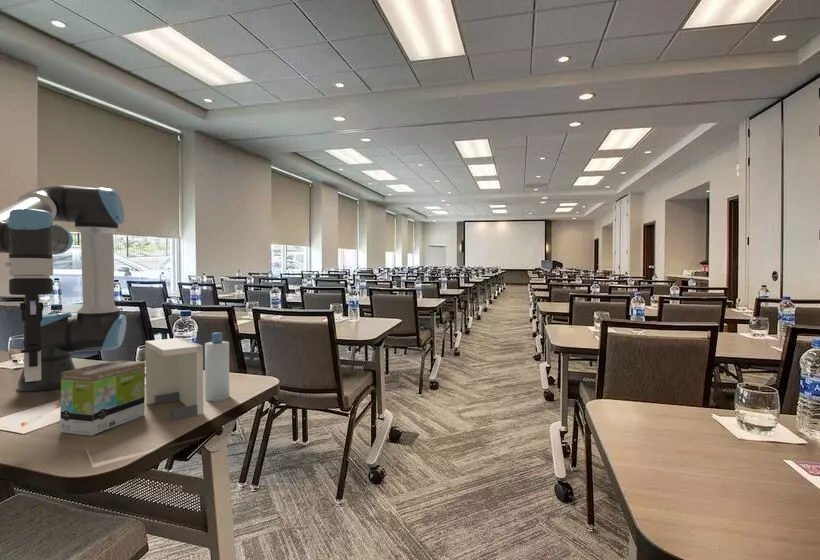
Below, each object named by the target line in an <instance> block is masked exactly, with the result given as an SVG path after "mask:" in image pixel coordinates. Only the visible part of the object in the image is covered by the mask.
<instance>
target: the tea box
mask: <svg viewBox="0 0 820 560" xmlns="http://www.w3.org/2000/svg"><path fill="white" fill-rule="evenodd" d="M145 402H146V361H145V362H143V361H131V360H112V361H105V362H103V363H99V364H98V363H97V364H92V365H88V366H84V367H80V368H76V369H74V370H69V371H64V372H62V373H61V388H60V420H59V421H60V422H59V423H60V425H59V432H60V433H63V434H70V435H81V436H91V437H93V436H96V435H97V434H99V433H102V432H105V431H106V430H109V429H112V428H114V427H117V426H121V425H122V424H126V423H128V422H131V421H133V420H136V419H138V418H141V417H143V416H145V407H146V406H145V404H146V403H145Z"/></svg>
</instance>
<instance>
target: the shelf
mask: <svg viewBox="0 0 820 560" xmlns="http://www.w3.org/2000/svg"><path fill="white" fill-rule="evenodd" d="M203 368H204V345H203V344H202V345H201V344H199V343H196V342H194V341H192V340H189V339H186V338H184V337H176V338H175V337H173V338H164V339H153V340H145V404H146V405H152V404H155V396H158V395H163V394H169V393H175V392H178V393H179V400H178V401H180V403H183V404H184V405H185V407H186V406H191V405H197V415H196V416H199V414H200V415H203V414H204V369H203ZM202 413H203V414H202Z"/></svg>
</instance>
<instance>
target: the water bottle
mask: <svg viewBox="0 0 820 560" xmlns="http://www.w3.org/2000/svg"><path fill="white" fill-rule="evenodd" d="M204 378H205V379H204V394H205V395H204V396H205V397H204V398H205V399H206V400H208V401H207V402H211V401H215V402H221V401H220V400H222V401H225V399H226V400H228V399H229V398H230V342H229V341H226V340H225V341H224V340H223V332H219V331H218V332H212V333H211V341H210V342H205V343H204ZM227 398H228V399H227ZM206 400H205V401H206Z"/></svg>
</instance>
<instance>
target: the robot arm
mask: <svg viewBox="0 0 820 560" xmlns="http://www.w3.org/2000/svg"><path fill="white" fill-rule="evenodd" d="M120 196H121V195H120V194H119V193H118V192H117V191H116V190H115V189H113V188H107V187H101V186H99V187H98V186H96V187H95V186H93V187H92V186H80V185H79V186H77V185H76V186H75V185H61V184H60V185H59V184H58V185H57V184H56V185H50V186H45V187H41V188H37V189H34V190H30V191H27V192H25V193H24V194H22V195H20V196H19V197H18V198H17V200H16V202H13V203H11V204H10V205H7V206H5V207H2V208H1V209H0V254H9V255H8V261H6V262H5V263H4V264H5V265H4V266H5V267H6V268H7V267H8V268H9V267H10V268H9V269H8V270H9V271H8V273H9V276H10V277H12V278H9V280H8V293H9V295H11V296H24V302H20V303H19V310H20V312H21V322H22V323H23V340H22V341H23V342H22V343H23V347H24V348H23V349H21V350H20V352H21V354H23V368H22V370H21V374H20V376H19V378H18V381H17V391H19V392H44V391H51V390H58V389H61V373H62V372H64V371H69V370H74V369H77V368H76V366H75V364H74V361H73V355H72V354H73V352H74V353H75V352H77V353H78V352H91V351H92V352H93V351H108V350H115V349H118V348H120V346H121V345H122V344H123V341H124V339H125V336H126V330H127V316H126V315H124V314H122V313H121V308H119V307H118V306H117V305H116V304H115V277H114V276H115V275H114V273H115V270H114V265H115V264H114V234H115V233H116V232H117V231H118V230H119V225H122V224H124V222H125V211H124V205H123V202H122V198H121V197H120ZM54 222H62V223H63V222H64V223H66V222H67V223H74V228H75V229H76V230H77V231H78V232H79V233H80V243H81V244H80V249H81V252H80V253H81V286H82V287H81V289H82V290H81V291H82V306H81V307H80V308H79V309H78V310H77V312H76V316H73V314H72V312H70V311H67V312H66V311H65V312H57V313H50V314H49V313H48V314H44V315H43V310H44V308H45V306H44V302H41V301H40V297H39V296H40V295H51V294H53V292H54V280H53V279H52V278H51V277H52V276H54V258H53V255H56V256H57V255H60V254H64V253H67V252H68V251H69V250H70V249H71V247H72V246H73V242H74V239H73V235H72V233H71V232H70V231H69V230H68V229H67V228H65V227H63V226H62V225H59V224H56V223H55V224H54Z"/></svg>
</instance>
